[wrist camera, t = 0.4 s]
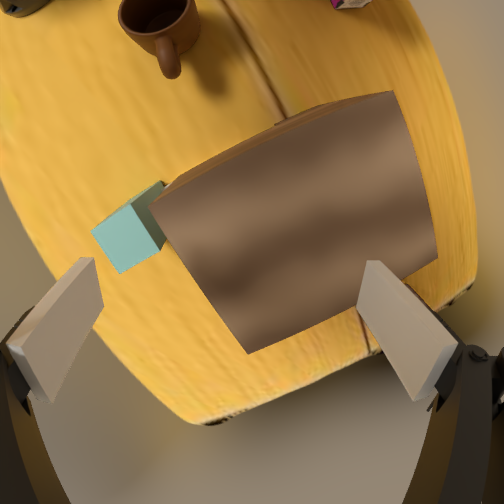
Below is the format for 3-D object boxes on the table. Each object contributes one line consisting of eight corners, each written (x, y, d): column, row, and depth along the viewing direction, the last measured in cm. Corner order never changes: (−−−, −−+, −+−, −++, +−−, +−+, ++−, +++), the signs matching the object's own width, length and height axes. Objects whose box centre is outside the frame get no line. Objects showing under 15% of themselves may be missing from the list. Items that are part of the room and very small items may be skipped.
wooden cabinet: (186, 169, 34) (147, 206, 18) (317, 105, 32) (392, 90, 15) (243, 269, 40) (255, 364, 23) (360, 211, 38) (439, 270, 21)
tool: (129, 200, 35) (90, 231, 24) (253, 129, 33) (266, 128, 22) (148, 231, 37) (119, 274, 26) (272, 165, 35) (292, 182, 24)
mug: (214, 80, 30) (210, 62, 21) (154, 97, 30) (129, 87, 21) (195, 1, 25) (186, -33, 16) (137, 19, 25) (112, -8, 16)
